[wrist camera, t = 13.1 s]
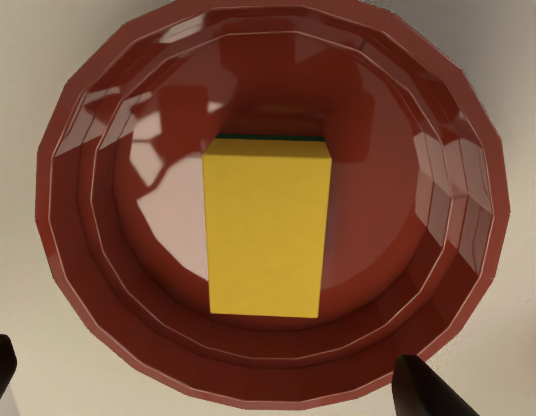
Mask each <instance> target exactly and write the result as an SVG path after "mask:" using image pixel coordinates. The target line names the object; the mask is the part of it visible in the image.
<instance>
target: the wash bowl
mask: <svg viewBox="0 0 536 416" xmlns="http://www.w3.org/2000/svg"><path fill="white" fill-rule="evenodd" d="M217 134H252V135H288V136H323V137H324V140H325V143H326V146H327V148H328V151H329V154H330V156H331V159H332V164H331V175H330V186H329V198H328V209H327V220H326V232H325V243H324V254H323V266H322V277H321V288H320V299H319V311H318V317H317V318H305V317H283V316H262V315H240V314H218V313H211V312H210V300H209V282H208V263H207V245H206V227H205V208H204V190H203V171H202V154H203V153H204V151H205V150H206V149H207V148H208V146H209V145H210V144H211V142H212V141H213V140H214V138H215V137H216V135H217ZM510 212H511V211H510V203H509V195H508V187H507V179H506V171H505V163H504V155H503V147H502V141H501V138H500V136H499V134H498V132H497V131H496V129H495V127H494V125H493V123H492V122H491V120H490V118H489V116H488V114H487V113H486V111H485V109H484V107H483V105H482V104H481V102H480V100H479V98H478V96H477V94H476V93H475V91H474V89H473V87H472V85H471V84H470V82H469V80H468V78H467V76H466V75H465V73H464V71H463V70H462V69H461V68H460V66H458V65H457V64H456V63H455V62H453V61H452V60H451V59H450V58H449V57H447V56H446V55H445V54H444V53H442V52H441V51H440V50H439V49H438V48H436V47H435V46H434V45H433V44H431V43H430V42H429V41H428V40H427V39H425V38H424V37H423V36H422V35H420V34H419V33H418V32H417V31H416V30H414V29H413V28H412V27H411V26H409V25H408V24H407V23H406V22H405V21H403V20H402V19H401V18H400V17H398V16H397V15H396V14H395V13H391V11H389V10H386V9H383V8H380V7H377V6H374V5H371V4H368V3H365V2H361V1H358V0H176V1H173V2H171V3H169V4H166V5H164V6H162V7H160V8H157V9H155V10H153V11H151V12H148V13H146V14H144V15H141V16H139V17H137V18H135V19H132V20H130V21H128V22H126V23H125V24H123V25H122V26H121V27H120V28H119V29H118V30H117V31H116V32H115V33H114V34H113V35H112V36H111V37H110V38H109V39H108V40H107V41H106V42H105V43H104V44H103V45H102V46H101V47H100V48H99V49H98V50H97V51H96V52H95V53H94V54H93V55H92V56H91V57H90V58H89V59H88V60H87V61H86V62H85V63H84V64H83V65H82V66H81V67H80V68H79V69H78V70H77V71H76V72H75V73H74V74H73V75H72V76H71V77H70V78H69V79H68V81H67V83H66V84H65V86H64V88H63V91H62V93H61V96H60V98H59V100H58V103H57V105H56V107H55V110H54V112H53V114H52V117H51V119H50V122H49V124H48V126H47V129H46V131H45V133H44V136H43V138H42V140H41V143H40V145H39V148H38V152H37V170H36V200H35V218H36V219H35V221H36V225H37V228H38V231H39V234H40V237H41V241H42V244H43V247H44V250H45V253H46V257H47V260H48V263H49V266H50V269H51V273H52V276H53V279H54V280H55V282H56V284H57V285H58V287H59V288H60V290H61V291H62V292H63V294H64V295H65V297H66V298H67V300H68V301H69V303H70V304H71V306H72V307H73V309H74V310H75V311H76V313H77V314H78V316H79V317H80V319H81V320H82V322H83V323H84V325H85V326H86V327H87V329H88V330H90V332H91V333H92V334H93V335H94V336H96V337H97V338H98V339H99V340H100V341H101V342H103V343H104V344H105V345H106V346H107V347H109V348H110V349H111V350H112V351H113V352H114V353H116V354H117V355H118V356H119V357H120V358H122V359H123V360H124V361H125V362H126V363H127V364H129V365H130V366H131V367H132V368H134V369H135V370H137V371H139V372H141V373H143V374H145V375H147V376H149V377H151V378H153V379H155V380H157V381H159V382H161V383H163V384H165V385H167V386H169V387H171V388H173V389H175V390H177V391H179V392H181V393H183V394H185V395H187V396H190V397H195V398H199V399H203V400H207V401H211V402H215V403H219V404H224V405H228V406H232V407H236V408H240V409H243V408H244V409H245V410H306V409H311V408H315V407H320V406H325V405H330V404H334V403H339V402H344V401H349V400H353V399H358V398H359V397H363V396H365V395H367V394H369V393H371V392H373V391H375V390H377V389H379V388H381V387H384V386H386V385H388V384H390V383H392V377H393V372H394V367H395V363H396V358H397V356H398V355H400V354H410V355H417V356H418V357H420V358H421V359H422V360H423V361H424V362H426V361H427V360H428V359H429V358H431V357H432V356H433V355H434V354H435V353H436V352H438V351H439V350H440V349H441V348H442V347H443V346H445V345H446V344H447V343H448V342H449V341H450V340H452V339H453V338H454V337H455V336H456V335H458V334H459V332H460V331H461V330H462V328H463V327H464V325H465V324H466V322H467V321H468V319H469V318H470V316H471V314H472V313H473V311H474V310H475V308H476V307H477V305H478V303H479V302H480V300H481V299H482V297H483V296H484V294H485V293H486V291H487V289H488V288H489V286H490V285H491V283H492V282H493V280H494V277H495V274H496V270H497V266H498V262H499V258H500V254H501V250H502V245H503V241H504V237H505V233H506V229H507V225H508V221H509V217H510Z"/></svg>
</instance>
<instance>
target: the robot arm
mask: <svg viewBox="0 0 536 416" xmlns="http://www.w3.org/2000/svg"><path fill="white" fill-rule="evenodd" d="M16 367H17V358H16V355H15V352H14V349H13V346H12V343H11V340H10V338H9V337H8V336H7V335H5V334H0V399H1V397H2V395H3V393H4V392H5V390H6V388H7V386H8V384H9V382H10V380H11V378H12V377H13V375H14V373H15V371H16ZM392 394H393V399H394V405H395V410H396V416H480V415H478V414H477V413H476V412H475V411H474V410H473V409H472V408H471V407H470V406H469V405H468V404H467V403H466V402H465V401H464V400H463V399H462V398H461V397H460V396H459V395H458V394H457V393H456V392H455V391H454V390H453V389H452V388H451V387H450V386H449V385H447V384H446V383H445V382H444V381H443V380H442V379H441V378H440V377H439V376H438V375H437V374H436V373H435V372H434V371H433V370H432V369H431V368H430V367H429V366H428V365H427V364H426V363H425V362H424V361H423V360H422V359H421V358H420V357H418V356H417V355H410V354H400V355H398V356H397V358H396V363H395V367H394V372H393V377H392Z"/></svg>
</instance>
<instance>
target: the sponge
mask: <svg viewBox="0 0 536 416" xmlns="http://www.w3.org/2000/svg"><path fill="white" fill-rule="evenodd" d="M331 164H332V159H331V156H330V154H329V151H328V148H327V146H326V143H325V140H324V137H323V136H288V135H252V134H217V135H216V137H215V138H214V140H213V141H212V142H211V144H210V145H209V146H208V148H207V149H206V150H205V151H204V153H203V154H202V171H203V190H204V208H205V227H206V245H207V263H208V282H209V300H210V312H211V313H218V314H240V315H262V316H283V317H305V318H317V317H318V311H319V299H320V288H321V277H322V266H323V254H324V243H325V232H326V220H327V209H328V198H329V186H330V175H331Z"/></svg>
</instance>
